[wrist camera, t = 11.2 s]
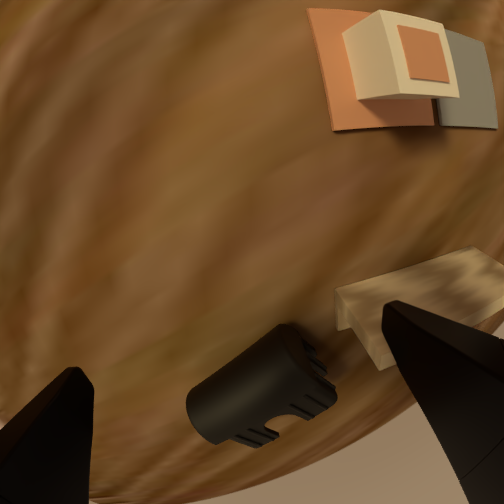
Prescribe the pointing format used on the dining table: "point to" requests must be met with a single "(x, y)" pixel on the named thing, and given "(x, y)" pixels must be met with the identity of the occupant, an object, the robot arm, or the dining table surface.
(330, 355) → the dining table surface
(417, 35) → the marked cube
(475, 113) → the slate tile
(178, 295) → the dining table surface
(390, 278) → the beech screen
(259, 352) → the end cap
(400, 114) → the terracotta tile
